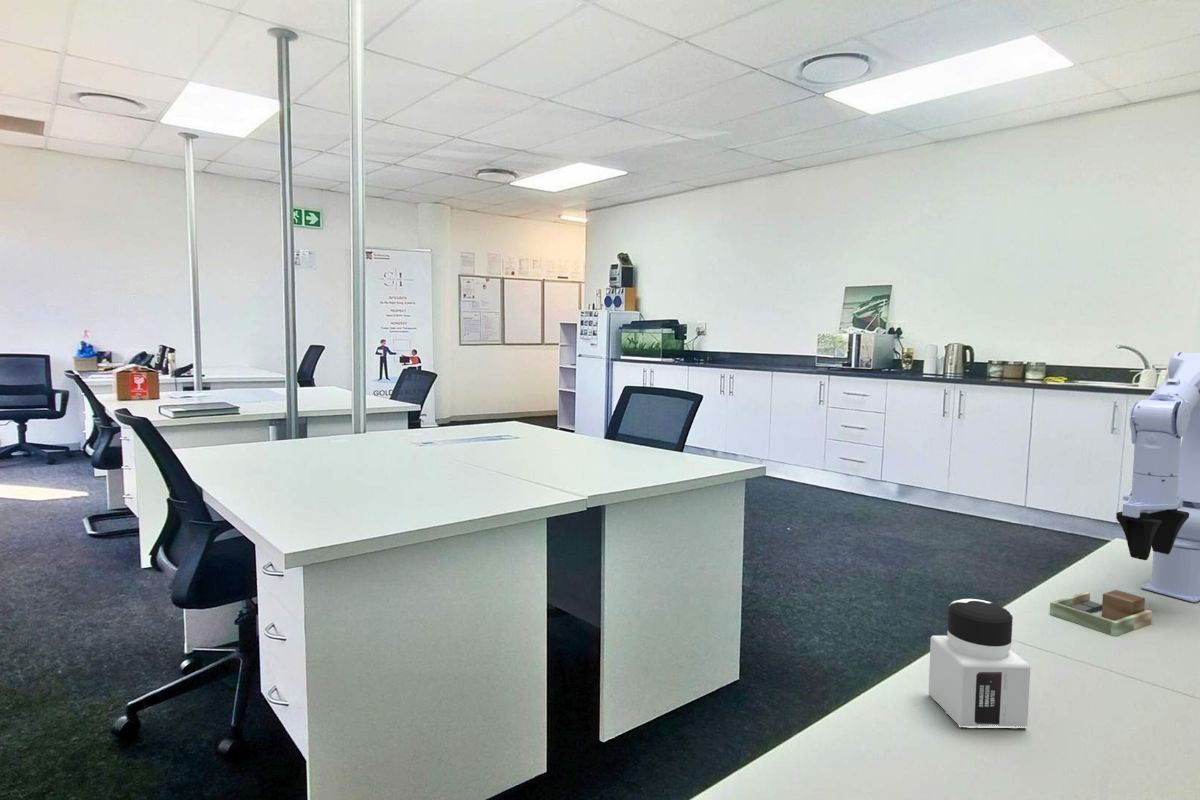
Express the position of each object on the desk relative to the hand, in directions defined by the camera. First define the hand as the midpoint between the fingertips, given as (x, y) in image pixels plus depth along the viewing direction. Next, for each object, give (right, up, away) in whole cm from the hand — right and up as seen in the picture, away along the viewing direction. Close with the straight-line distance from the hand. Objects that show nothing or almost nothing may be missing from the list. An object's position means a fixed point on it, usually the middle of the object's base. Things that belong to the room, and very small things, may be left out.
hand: (1150, 555), depth 109 cm
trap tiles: (-10, -9, +1) cm, 14 cm away
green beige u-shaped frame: (-10, -10, -3) cm, 14 cm away
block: (-7, -10, -3) cm, 12 cm away
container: (-46, -12, -30) cm, 56 cm away
